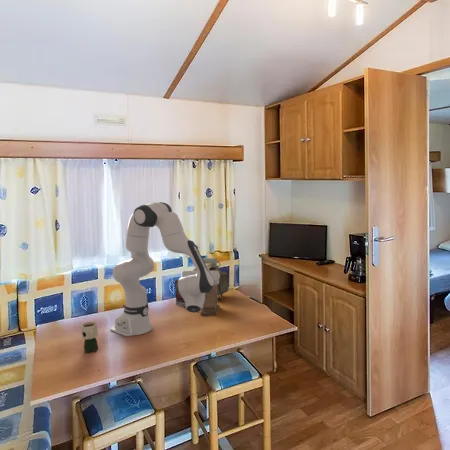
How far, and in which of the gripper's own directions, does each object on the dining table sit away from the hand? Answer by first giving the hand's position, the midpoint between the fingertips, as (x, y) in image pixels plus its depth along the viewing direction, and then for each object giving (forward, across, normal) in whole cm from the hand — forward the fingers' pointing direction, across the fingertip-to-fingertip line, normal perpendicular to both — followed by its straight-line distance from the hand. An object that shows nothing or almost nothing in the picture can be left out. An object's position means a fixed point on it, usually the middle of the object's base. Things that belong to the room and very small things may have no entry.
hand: (202, 266), depth 204 cm
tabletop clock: (+19, -1, +48) cm, 52 cm away
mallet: (+8, 0, +9) cm, 12 cm away
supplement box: (+9, +19, +42) cm, 47 cm away
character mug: (-47, +48, +10) cm, 68 cm away
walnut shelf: (-1, 0, +36) cm, 36 cm away
